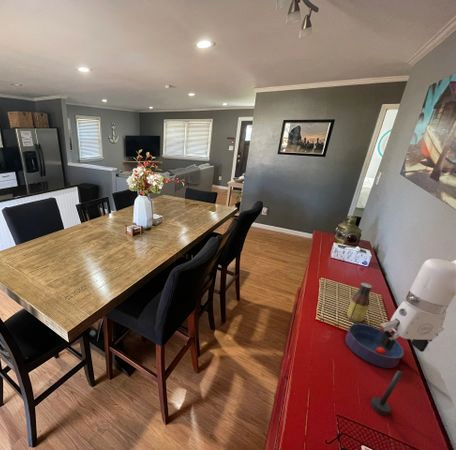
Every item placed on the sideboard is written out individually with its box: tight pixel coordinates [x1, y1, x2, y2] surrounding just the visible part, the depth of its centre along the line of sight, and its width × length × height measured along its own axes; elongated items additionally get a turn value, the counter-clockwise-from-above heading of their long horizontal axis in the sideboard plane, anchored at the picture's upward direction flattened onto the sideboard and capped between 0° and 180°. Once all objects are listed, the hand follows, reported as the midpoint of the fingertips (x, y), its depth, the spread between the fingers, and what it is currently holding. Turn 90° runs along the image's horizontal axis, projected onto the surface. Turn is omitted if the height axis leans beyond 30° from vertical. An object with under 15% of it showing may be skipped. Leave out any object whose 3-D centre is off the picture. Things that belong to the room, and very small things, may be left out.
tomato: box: [376, 347, 386, 355], centre depth 97 cm, size 3×3×3 cm
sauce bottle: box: [346, 282, 373, 323], centre depth 113 cm, size 7×6×20 cm
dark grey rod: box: [369, 370, 403, 416], centre depth 76 cm, size 5×5×17 cm
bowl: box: [344, 323, 405, 369], centre depth 99 cm, size 17×17×6 cm
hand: (400, 347), depth 73 cm, fingers open, 9 cm apart
